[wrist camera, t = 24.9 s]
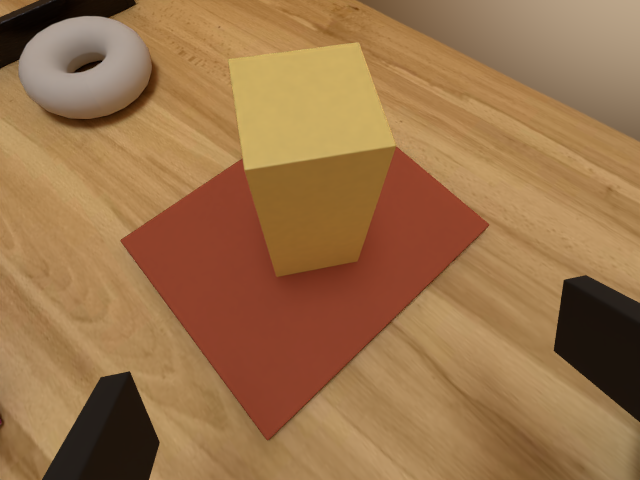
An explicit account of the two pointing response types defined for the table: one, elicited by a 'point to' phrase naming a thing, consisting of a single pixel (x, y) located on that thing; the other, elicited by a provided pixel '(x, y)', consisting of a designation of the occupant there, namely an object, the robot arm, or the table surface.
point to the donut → (77, 50)
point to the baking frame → (47, 21)
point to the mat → (294, 283)
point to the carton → (311, 151)
